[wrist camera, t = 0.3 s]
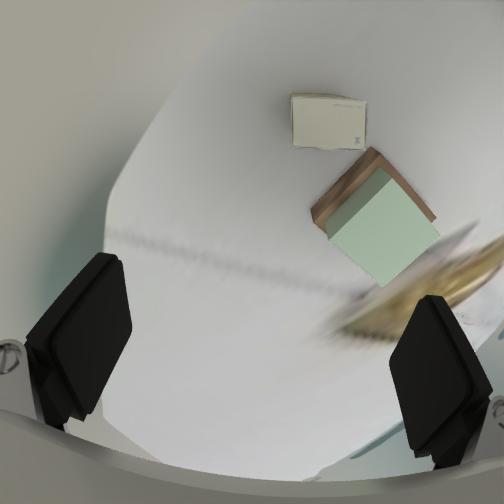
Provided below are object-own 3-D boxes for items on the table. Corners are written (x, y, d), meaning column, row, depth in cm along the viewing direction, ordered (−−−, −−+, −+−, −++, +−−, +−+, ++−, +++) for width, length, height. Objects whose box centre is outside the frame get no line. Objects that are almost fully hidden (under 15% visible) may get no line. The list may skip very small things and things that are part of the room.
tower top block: (379, 166, 31) (392, 178, 27) (425, 218, 33) (440, 235, 29) (324, 222, 35) (328, 240, 31) (373, 266, 37) (382, 287, 33)
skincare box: (342, 95, 31) (371, 99, 21) (341, 132, 33) (368, 153, 23) (288, 92, 32) (290, 93, 21) (288, 130, 34) (290, 149, 24)
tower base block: (370, 145, 34) (380, 153, 30) (423, 204, 37) (436, 217, 33) (310, 207, 39) (313, 222, 35) (366, 257, 42) (373, 275, 38)
